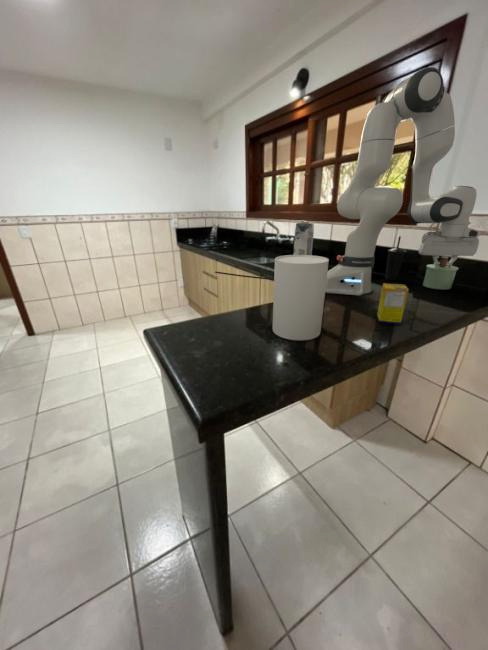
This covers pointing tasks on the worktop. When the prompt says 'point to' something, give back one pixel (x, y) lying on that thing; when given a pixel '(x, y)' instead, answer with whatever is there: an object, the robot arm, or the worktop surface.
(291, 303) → the canister
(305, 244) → the juice carton
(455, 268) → the lid
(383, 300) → the supplement box
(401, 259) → the drinking cup
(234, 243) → the worktop surface
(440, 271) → the pot
